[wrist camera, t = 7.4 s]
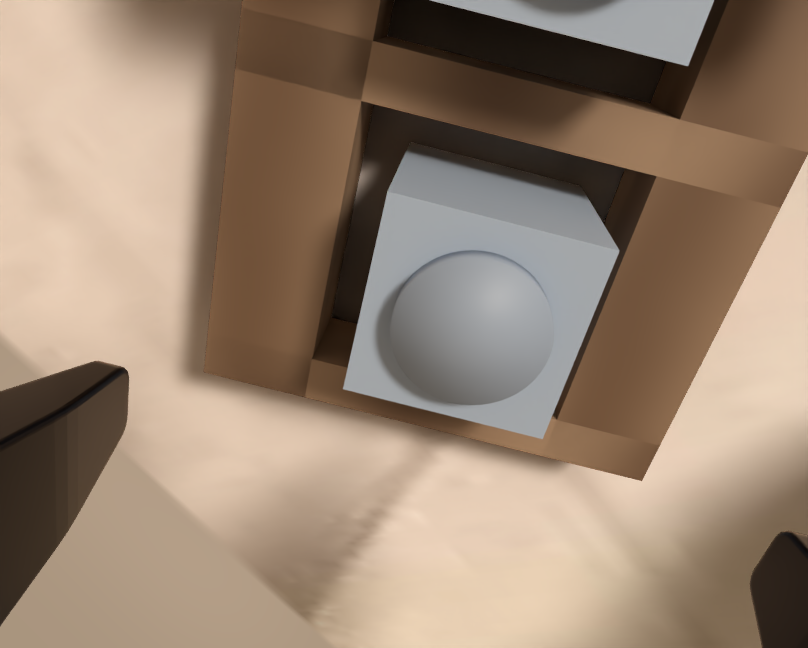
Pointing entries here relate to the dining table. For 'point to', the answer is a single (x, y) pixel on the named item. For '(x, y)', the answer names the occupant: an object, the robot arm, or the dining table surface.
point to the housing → (530, 123)
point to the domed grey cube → (478, 291)
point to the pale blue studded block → (610, 22)
